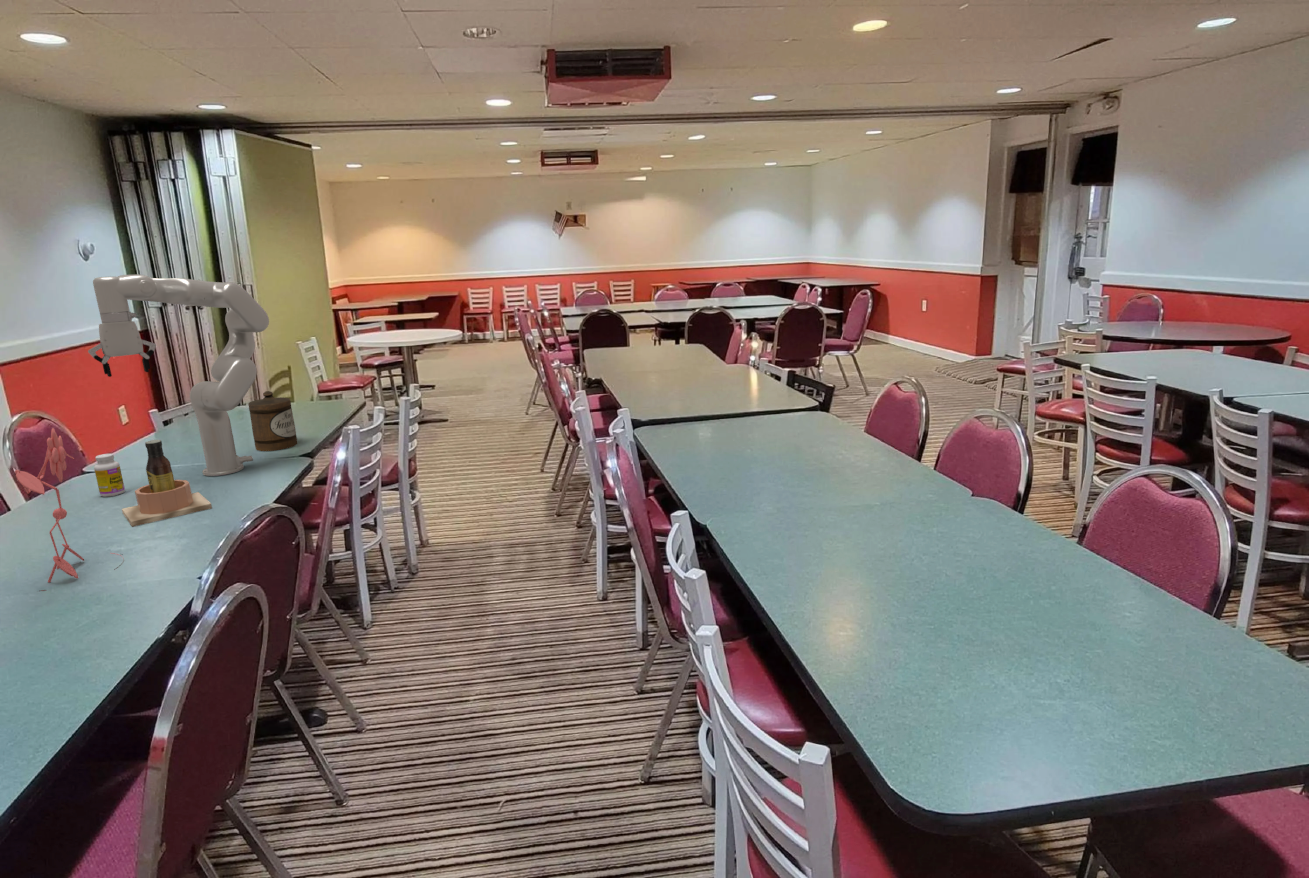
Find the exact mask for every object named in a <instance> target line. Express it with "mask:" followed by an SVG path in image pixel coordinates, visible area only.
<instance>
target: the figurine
mask: <svg viewBox="0 0 1309 878" xmlns="http://www.w3.org/2000/svg"><path fill="white" fill-rule="evenodd" d="M50 430H51V433H50V437H48V438H47V439H46V444H47V448H46V453H45V457H44V463H43V465H42V466H41V469H40V471H39V473H38V475H37V476H35V475H33V474H32V473H30V472H28V471H22V470H20V469H15V470H14V474H15V477H16V479H17V482H18V483H20V484H21V486H23V489H24V491H25V492H26V493H27V495H29V494H30V493H31V491H32V492H34V493H37V494H40V495H45V487H44V485H45V486H47V487H49V488H51V489H52V490H54V491H55V494H56V498H57V503H58V506H59V507H58V508H56V509H54V510H53V512H52V517H53V519H55V523H54V525H53V526H52V528H51V529H50V530H49V536H50V539H51V543H52V544H53V548H54V551H55V554H56V555H54V556H52V560H53V561H54V564H53V567H52V570H51V572H50V575H49V577H48V578H47V579H48V580H47V583H51V582H52V579H53V577H54V575H55V572H56V569H57V570H58V569H60V570H61V571H63V572H64V573H65V574H67V575H69V576H70V577H72V578H75V579H79V576H78V573H77V570H76V569H75V568H74V567H73V566H72V564H71V563H69V561H67V560H66V559H64V557H65V555H66V553H67V551H68V552H70V553H72V554H73V555H74V556H75V557H77V558H78V559H79V560H81V561H82V562H84V561H85V559H84V558H83V556H81V555H80V554H79V553H77V551H75V550H73V548H71V547H70V544H68V541H67V540H66V537H65V533H64V532H63V529H62V527H61V525H60V523H59V521H60V520H63V519H65V518H66V517H67V516H68V515H67V514H68V511H67V510H66V509H65V508H63V507H62V501H61V495H60V491H59V489H58V487H56V486H53V485H51V484H49V483H47V482H45V481H42V479H43V478H44V477H45V474H46V470H47V469H46V468H47V465H48V463H49V468H50V473H51V475H52V476H55V475H56V477H57V479H58V481H59V483H62V482H63V479H64V476H63V473H64V471H66V470H67V467H68V466H67V462H66V458H67V457H69V458H70V459H72V460H75V459H76V458H75V457H73V456H72V455H70V454H68V453H67V451H66V449H65V448H64V441H63V438H62V436H61V435H59V436H58V434H57V432H56V429H55V428H54V427H52V428H51V429H50ZM55 527H58V529H59V531H60V533H61V536H62V539H63V541H64V543H62V544H61V545H62V547H64V548H63V551H62V553H61V556H60V555H59V551H58V549H57V546H56V543H55V539H54V536H53V533H52V532H53V531H54V529H55ZM111 554H112V555H113V554H114V555H118V556H121V557H122V556H123V554H122V553H121V554H120V553H119V554H118V553H115V552H111ZM122 559H123V561H122V563H121V564H120V566H121V565H123V563H124V561H125V560H124V557H122ZM118 568H119V566H117V567H116V568H114V571H115V570H116V569H118ZM45 591H47V590H46V589H44V590H40V592H45Z"/></svg>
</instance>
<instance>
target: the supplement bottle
mask: <svg viewBox="0 0 1309 878" xmlns="http://www.w3.org/2000/svg"><path fill="white" fill-rule="evenodd" d="M114 459H115V455H114V454H113V453H103V454H98V455H96V456H95V461H96V464H95V465H94V466H93V467H94V468H93V469H94V473H95V479H96V482H97V483H96V484H97V486H98V491H99V495H100V497H105V498H106V497H107V498H108V497H115V496H119V495H121V494H123V493H125V492H126V488H125V485H124V484H125V483H124V479H123V474H122V470H121V466H120V463H119V462H118V461H116V460H114Z"/></svg>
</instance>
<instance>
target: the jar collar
mask: <svg viewBox="0 0 1309 878" xmlns="http://www.w3.org/2000/svg"><path fill="white" fill-rule="evenodd" d="M174 482H175V487H176V489H173V490H168V491H164V492H157V493H151V491H150V486H149V484H146V485H143V486H141V487H140V486H139V488H137V489H135V490H134V495H135V499H136V502H137V505H138V508H139V511H140V512H141V513H142V514H158V513H166V512H170V511H175V510H179V509H181V508H184V507H187V506H189V505H190V504H191V503H192V502H193V498H192V493H193V492H192V489H191V483H190V482H189V481H188V480H186V479H185V480H184V479H174Z"/></svg>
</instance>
